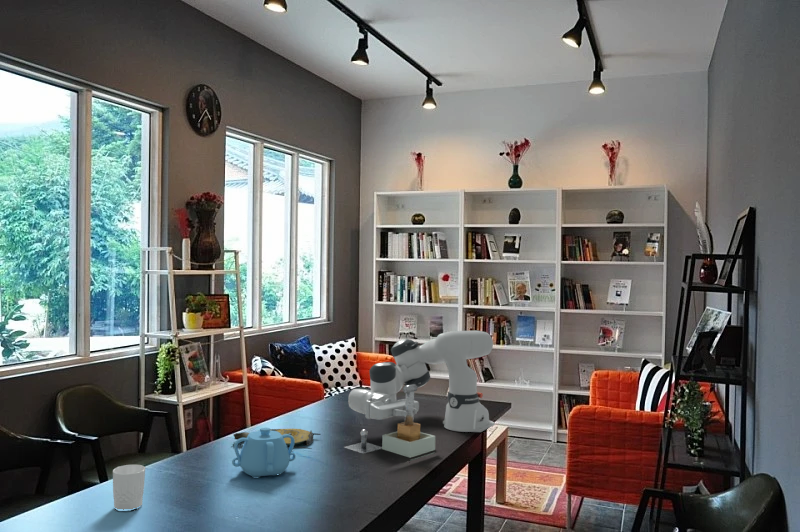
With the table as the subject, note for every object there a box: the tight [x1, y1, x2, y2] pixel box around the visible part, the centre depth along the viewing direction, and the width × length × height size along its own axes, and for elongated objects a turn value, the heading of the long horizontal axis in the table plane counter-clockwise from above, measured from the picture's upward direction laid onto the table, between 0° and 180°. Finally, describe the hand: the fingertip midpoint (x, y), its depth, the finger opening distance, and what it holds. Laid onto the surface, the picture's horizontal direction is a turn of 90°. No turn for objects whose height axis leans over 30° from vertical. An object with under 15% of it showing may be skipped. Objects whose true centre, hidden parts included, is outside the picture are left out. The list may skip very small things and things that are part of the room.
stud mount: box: [343, 428, 383, 455], centre depth 222 cm, size 10×10×8 cm
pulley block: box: [233, 428, 321, 450], centre depth 227 cm, size 14×6×30 cm
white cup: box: [112, 464, 146, 510], centre depth 167 cm, size 8×8×10 cm
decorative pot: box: [231, 427, 297, 478], centre depth 197 cm, size 16×16×14 cm
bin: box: [381, 431, 436, 462], centre depth 221 cm, size 13×13×6 cm
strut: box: [397, 384, 421, 442], centre depth 221 cm, size 6×6×21 cm
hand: (411, 412), depth 220 cm, fingers closed on strut, 3 cm apart
